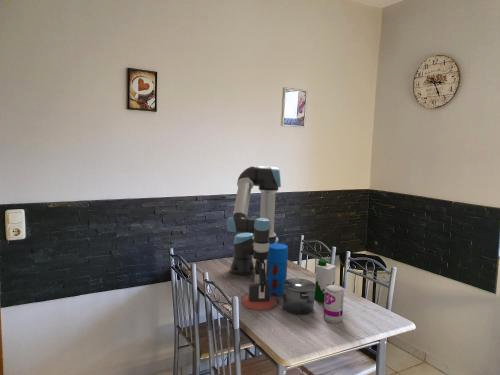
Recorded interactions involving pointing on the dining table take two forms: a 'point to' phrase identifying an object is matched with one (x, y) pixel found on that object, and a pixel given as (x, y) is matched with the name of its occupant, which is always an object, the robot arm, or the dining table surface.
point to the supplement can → (333, 303)
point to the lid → (253, 298)
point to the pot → (298, 296)
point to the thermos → (276, 268)
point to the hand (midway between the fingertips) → (259, 292)
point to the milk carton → (323, 278)
